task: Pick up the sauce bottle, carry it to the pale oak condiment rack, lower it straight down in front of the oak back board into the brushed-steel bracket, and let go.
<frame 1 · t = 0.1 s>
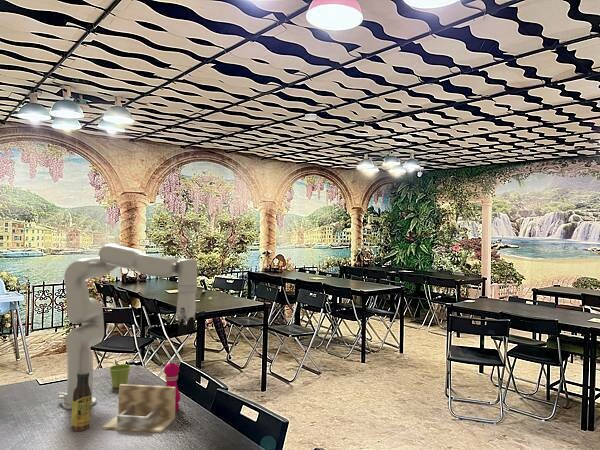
hand: (186, 332, 187), 31 cm above the table, tool pointing down, fingers open, 9 cm apart
plant pot: (119, 386, 215), on the table
sauce bottle: (80, 428, 168), on the table
condiment rack: (139, 423, 173), on the table
pepper mill: (170, 409, 187), on the table
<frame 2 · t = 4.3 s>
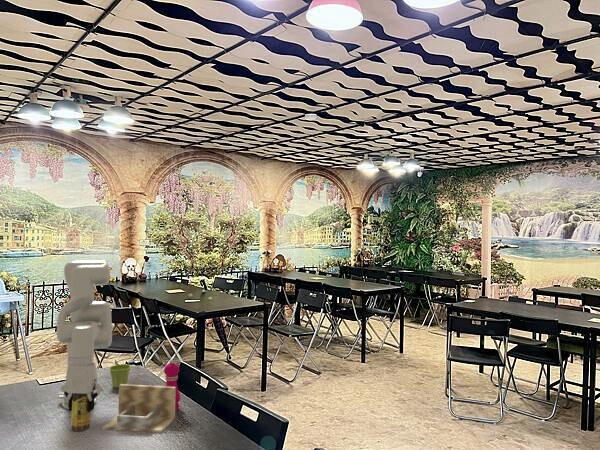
hand: (81, 409, 168), 7 cm above the table, tool pointing down, fingers closed on sauce bottle, 6 cm apart
sauce bottle: (80, 428, 168), on the table, touching gripper
everything else where it was.
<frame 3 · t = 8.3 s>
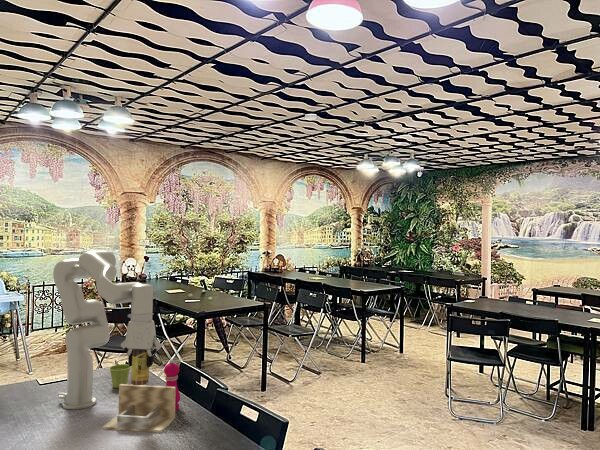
hand: (140, 365, 173), 21 cm above the table, tool pointing down, fingers closed on sauce bottle, 6 cm apart
sauce bottle: (140, 384, 173), point 15 cm above the table, touching gripper
everything else where it was.
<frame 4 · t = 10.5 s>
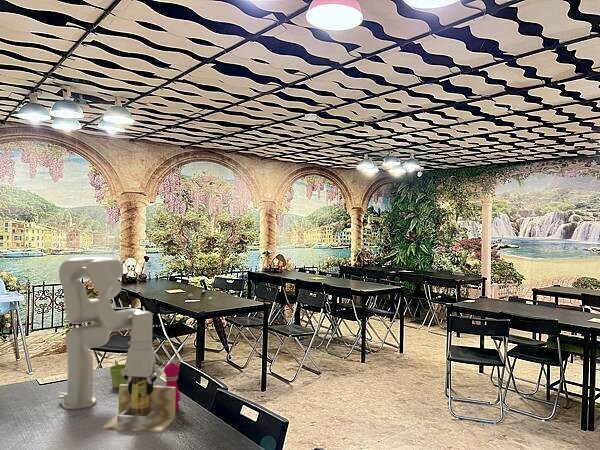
hand: (140, 392, 173), 11 cm above the table, tool pointing down, fingers closed on sauce bottle, 6 cm apart
sauce bottle: (140, 411, 173), point 4 cm above the table, touching gripper
everything else where it was.
when the fingers open (8 cm above the table, at t = 12.2 s): sauce bottle stays where it is, resting on condiment rack.
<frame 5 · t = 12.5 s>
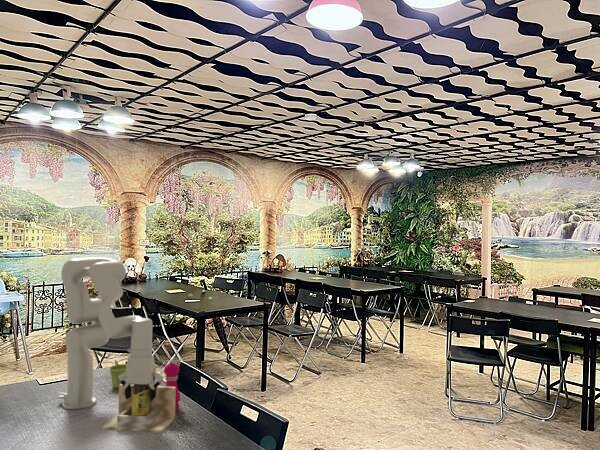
hand: (140, 398, 173), 9 cm above the table, tool pointing down, fingers open, 9 cm apart
sauce bottle: (140, 421, 173), point 1 cm above the table, touching condiment rack
everything else where it was.
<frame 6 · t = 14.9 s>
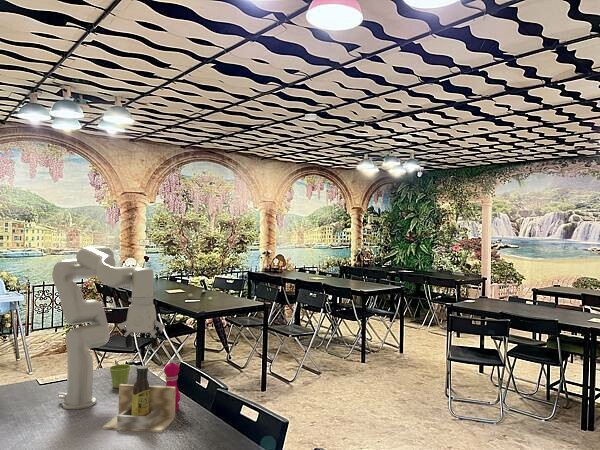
hand: (141, 347, 174), 28 cm above the table, tool pointing down, fingers open, 9 cm apart
nothing on the table moved.
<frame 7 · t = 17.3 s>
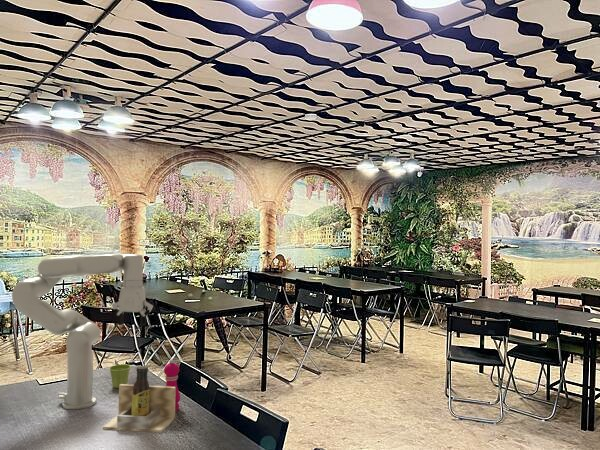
hand: (132, 325, 194), 32 cm above the table, tool pointing down, fingers open, 9 cm apart
nothing on the table moved.
at the end: sauce bottle 0.1 cm off-centre on the condiment rack, point 0.6 cm above the condiment rack's base; sauce bottle tilted 0°; the gripper is holding nothing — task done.
